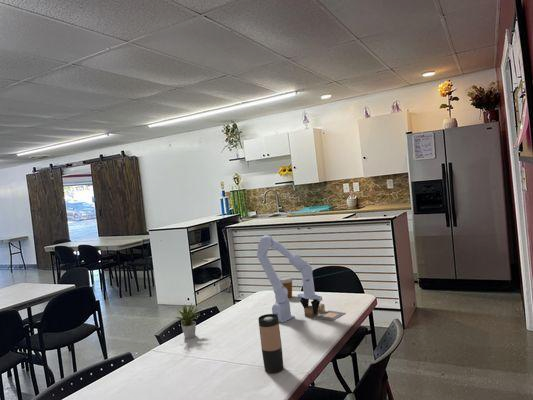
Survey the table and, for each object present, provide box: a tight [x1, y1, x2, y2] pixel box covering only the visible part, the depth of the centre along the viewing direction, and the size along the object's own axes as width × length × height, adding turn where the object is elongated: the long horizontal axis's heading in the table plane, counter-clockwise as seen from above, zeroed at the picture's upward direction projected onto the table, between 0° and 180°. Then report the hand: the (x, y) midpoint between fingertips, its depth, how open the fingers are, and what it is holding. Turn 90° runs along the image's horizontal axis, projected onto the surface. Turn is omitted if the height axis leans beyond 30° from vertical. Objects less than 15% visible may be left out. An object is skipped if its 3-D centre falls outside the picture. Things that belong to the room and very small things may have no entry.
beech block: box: [318, 302, 326, 314], centre depth 209 cm, size 4×4×4 cm
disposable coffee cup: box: [278, 275, 293, 299], centre depth 243 cm, size 10×10×12 cm
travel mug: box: [257, 313, 284, 375], centre depth 148 cm, size 8×8×20 cm
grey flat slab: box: [315, 310, 346, 322], centre depth 200 cm, size 12×10×1 cm
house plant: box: [175, 303, 202, 339], centre depth 193 cm, size 14×14×16 cm
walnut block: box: [303, 304, 320, 319], centre depth 204 cm, size 5×5×4 cm
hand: (311, 313), depth 204 cm, fingers closed on walnut block, 5 cm apart
